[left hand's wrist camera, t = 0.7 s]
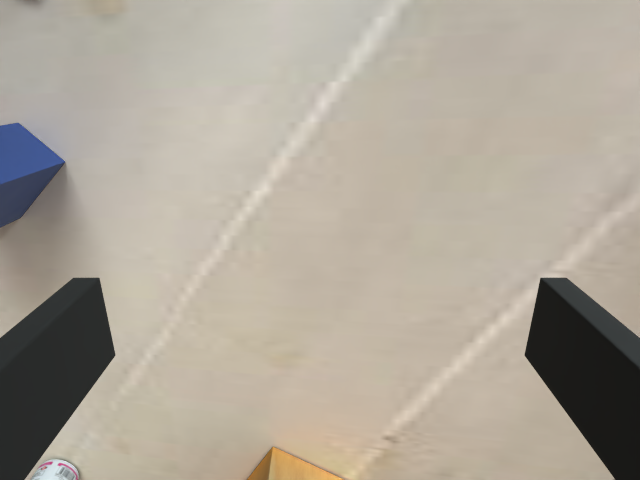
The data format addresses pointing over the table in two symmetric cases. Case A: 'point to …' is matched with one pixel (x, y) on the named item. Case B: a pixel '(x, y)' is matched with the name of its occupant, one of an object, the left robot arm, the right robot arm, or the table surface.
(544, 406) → the table surface
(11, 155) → the block
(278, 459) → the bread
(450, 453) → the table surface
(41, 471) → the pill bottle
